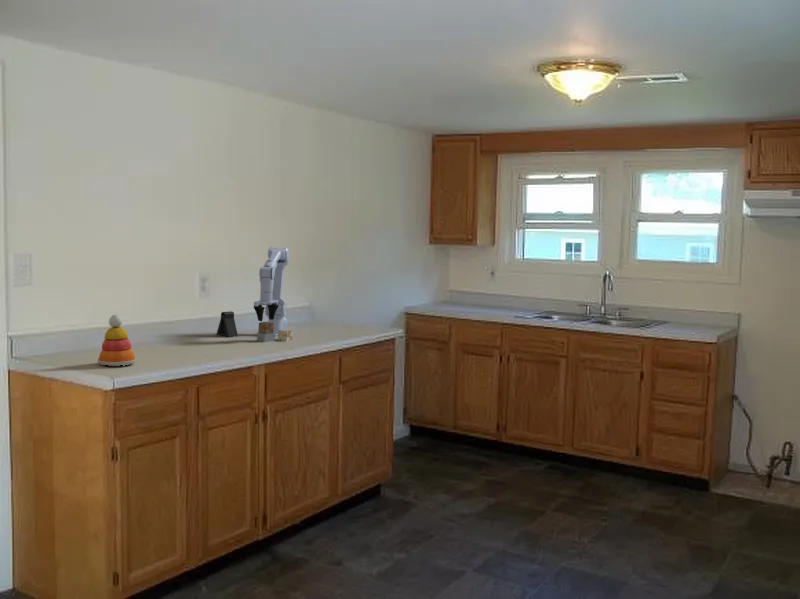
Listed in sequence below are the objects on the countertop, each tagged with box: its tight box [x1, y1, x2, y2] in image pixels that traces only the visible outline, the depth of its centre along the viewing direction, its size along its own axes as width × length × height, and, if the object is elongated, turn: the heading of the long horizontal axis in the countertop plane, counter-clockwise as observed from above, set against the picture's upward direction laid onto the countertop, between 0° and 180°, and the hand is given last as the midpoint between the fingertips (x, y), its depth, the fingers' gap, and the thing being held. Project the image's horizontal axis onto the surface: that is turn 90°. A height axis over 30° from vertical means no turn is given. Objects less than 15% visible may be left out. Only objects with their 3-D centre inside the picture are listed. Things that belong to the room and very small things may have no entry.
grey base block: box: [256, 332, 276, 343], centre depth 385 cm, size 6×6×4 cm
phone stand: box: [215, 310, 239, 338], centre depth 395 cm, size 9×6×12 cm, turn 55°
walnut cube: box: [258, 321, 274, 334], centre depth 385 cm, size 5×5×5 cm
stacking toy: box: [97, 314, 137, 367], centre depth 309 cm, size 14×14×20 cm
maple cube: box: [277, 328, 293, 342], centre depth 390 cm, size 5×5×5 cm
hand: (265, 320), depth 385 cm, fingers open, 7 cm apart
